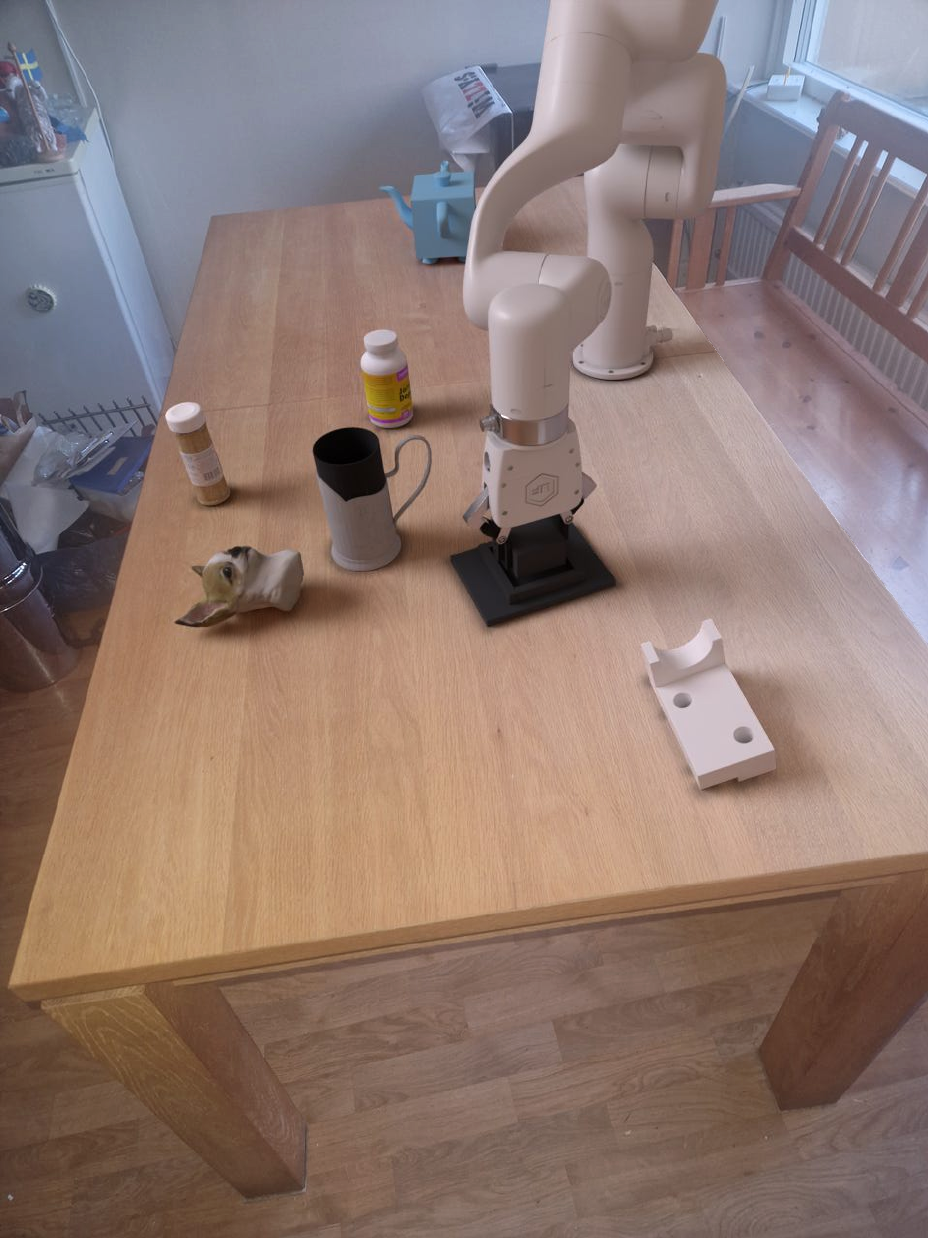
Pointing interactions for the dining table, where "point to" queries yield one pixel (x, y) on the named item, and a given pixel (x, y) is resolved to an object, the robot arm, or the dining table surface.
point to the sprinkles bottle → (198, 452)
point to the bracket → (708, 710)
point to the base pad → (529, 580)
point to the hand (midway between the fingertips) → (530, 552)
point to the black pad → (536, 547)
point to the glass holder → (360, 497)
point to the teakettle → (439, 213)
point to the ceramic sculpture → (245, 584)
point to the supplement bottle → (386, 380)
